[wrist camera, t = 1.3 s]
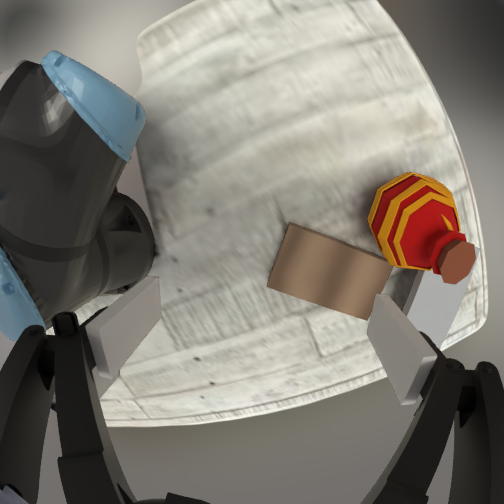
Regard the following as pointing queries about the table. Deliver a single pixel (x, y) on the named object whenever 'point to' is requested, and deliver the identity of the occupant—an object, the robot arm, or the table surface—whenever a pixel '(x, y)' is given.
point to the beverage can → (102, 382)
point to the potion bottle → (420, 227)
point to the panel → (328, 272)
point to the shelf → (435, 303)
